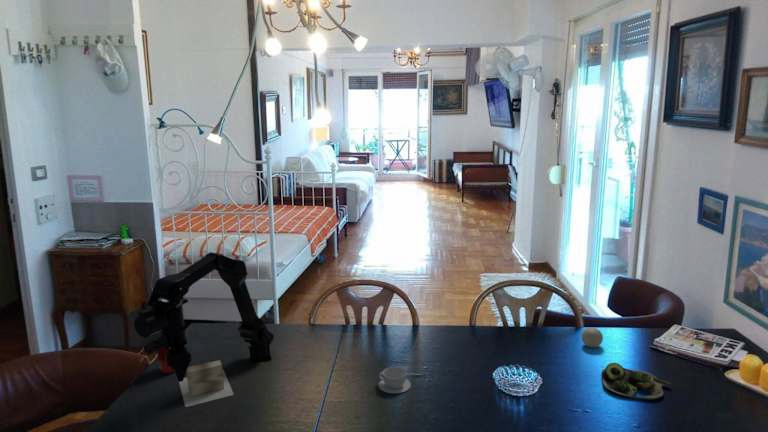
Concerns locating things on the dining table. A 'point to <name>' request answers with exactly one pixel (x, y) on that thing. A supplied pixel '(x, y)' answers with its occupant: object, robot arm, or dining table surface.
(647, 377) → the salad plate
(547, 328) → the dining table surface
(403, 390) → the teacup
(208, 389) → the beech slab
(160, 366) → the canned food
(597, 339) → the baseball
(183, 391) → the white flat tray
